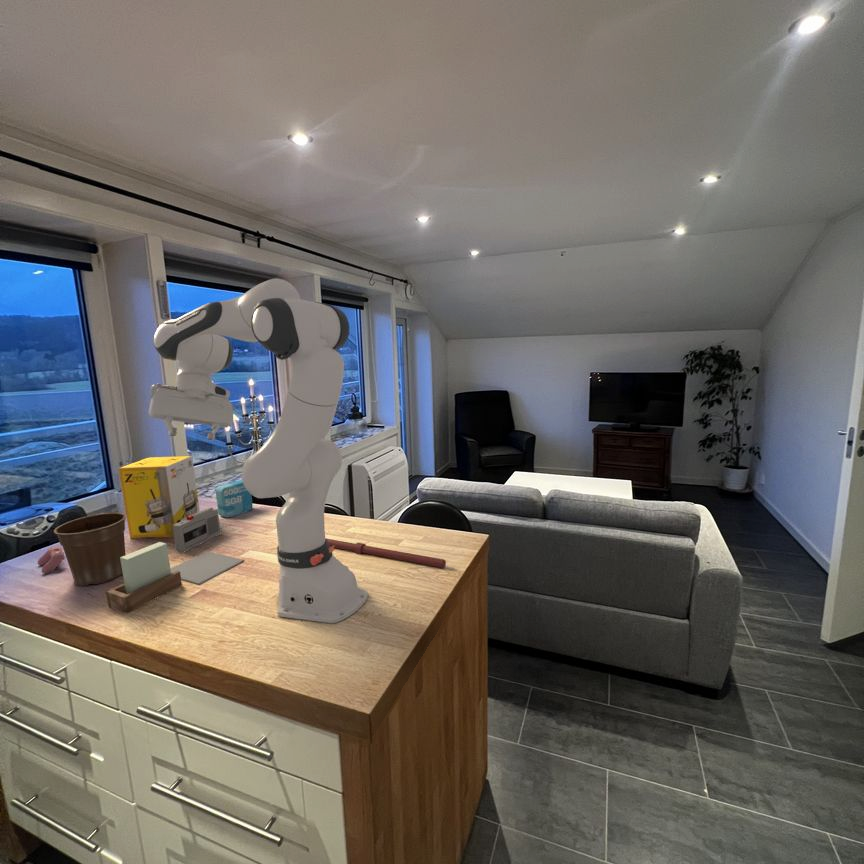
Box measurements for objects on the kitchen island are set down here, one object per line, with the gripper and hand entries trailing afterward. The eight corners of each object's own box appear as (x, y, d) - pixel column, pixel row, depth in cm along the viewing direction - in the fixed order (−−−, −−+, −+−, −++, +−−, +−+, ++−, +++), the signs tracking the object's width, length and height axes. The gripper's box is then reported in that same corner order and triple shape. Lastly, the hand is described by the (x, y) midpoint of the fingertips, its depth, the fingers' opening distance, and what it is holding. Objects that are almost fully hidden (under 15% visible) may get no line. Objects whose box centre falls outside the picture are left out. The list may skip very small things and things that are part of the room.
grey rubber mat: (244, 561, 134) (244, 559, 134) (198, 584, 121) (198, 583, 121) (207, 552, 141) (207, 551, 141) (161, 573, 128) (161, 572, 128)
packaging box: (176, 536, 155) (166, 466, 151) (130, 538, 155) (118, 468, 151) (200, 519, 171) (192, 455, 167) (158, 521, 171) (149, 457, 167)
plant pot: (50, 585, 124) (39, 530, 121) (109, 560, 139) (100, 510, 136) (90, 594, 118) (79, 536, 115) (147, 566, 133) (139, 514, 130)
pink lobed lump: (59, 575, 133) (69, 551, 134) (40, 574, 130) (50, 550, 131) (54, 565, 140) (63, 543, 141) (35, 564, 137) (45, 541, 138)
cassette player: (182, 553, 142) (178, 522, 140) (176, 552, 143) (171, 522, 141) (220, 533, 156) (217, 506, 154) (214, 533, 157) (211, 505, 155)
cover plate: (172, 585, 121) (166, 543, 119) (134, 604, 112) (127, 559, 110) (165, 583, 122) (159, 541, 120) (127, 601, 114) (120, 557, 111)
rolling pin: (313, 547, 143) (312, 537, 142) (320, 543, 146) (319, 533, 145) (442, 571, 123) (441, 560, 123) (447, 566, 126) (446, 556, 126)
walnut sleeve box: (182, 585, 121) (180, 571, 120) (127, 613, 108) (124, 597, 108) (163, 579, 124) (161, 566, 124) (108, 606, 112) (105, 591, 111)
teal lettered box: (224, 519, 171) (221, 488, 169) (218, 517, 173) (214, 487, 171) (253, 509, 180) (250, 480, 178) (246, 507, 183) (243, 479, 181)
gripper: (153, 377, 114) (150, 428, 110) (235, 392, 128) (235, 438, 124) (147, 387, 118) (143, 436, 114) (227, 400, 132) (226, 445, 128)
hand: (192, 437), depth 119 cm, fingers open, 8 cm apart
